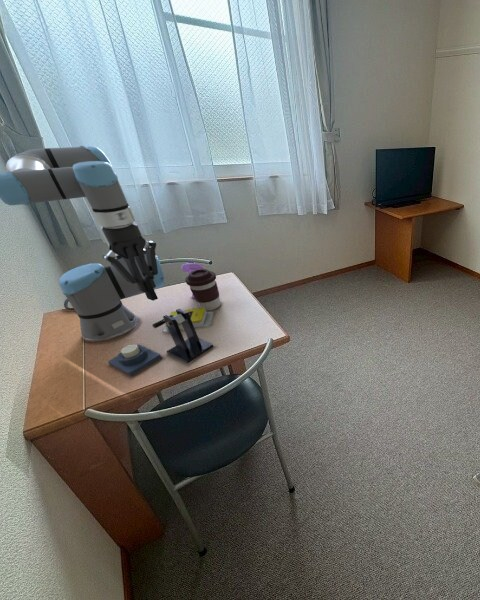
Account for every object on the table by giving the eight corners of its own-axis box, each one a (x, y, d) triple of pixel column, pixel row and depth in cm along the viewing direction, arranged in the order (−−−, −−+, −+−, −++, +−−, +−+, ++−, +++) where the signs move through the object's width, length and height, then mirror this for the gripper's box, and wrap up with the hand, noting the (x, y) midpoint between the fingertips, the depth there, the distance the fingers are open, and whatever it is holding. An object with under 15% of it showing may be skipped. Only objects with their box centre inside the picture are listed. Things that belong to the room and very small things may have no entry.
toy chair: (217, 286, 139) (207, 255, 131) (210, 297, 132) (199, 264, 124) (197, 287, 138) (186, 256, 130) (189, 298, 131) (176, 265, 123)
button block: (110, 365, 97) (104, 356, 95) (141, 348, 104) (136, 339, 102) (131, 377, 93) (126, 368, 91) (162, 359, 100) (157, 349, 98)
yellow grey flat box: (165, 309, 116) (210, 303, 120) (169, 319, 118) (214, 312, 123) (157, 323, 109) (206, 316, 113) (162, 334, 111) (210, 326, 115)
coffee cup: (191, 307, 125) (178, 273, 117) (216, 297, 132) (205, 264, 124) (204, 316, 120) (192, 281, 112) (229, 305, 127) (219, 271, 119)
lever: (155, 329, 101) (150, 323, 100) (173, 320, 105) (169, 313, 104) (172, 327, 94) (167, 320, 93) (191, 317, 99) (186, 310, 98)
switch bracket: (167, 354, 102) (149, 317, 94) (194, 339, 109) (179, 303, 101) (188, 364, 98) (171, 326, 91) (214, 348, 105) (200, 311, 98)
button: (121, 355, 96) (117, 350, 95) (135, 348, 99) (132, 342, 98) (128, 359, 95) (125, 354, 94) (142, 351, 98) (140, 346, 97)
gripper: (98, 234, 79) (137, 312, 91) (152, 220, 89) (181, 292, 101) (82, 229, 81) (122, 305, 94) (136, 215, 91) (166, 286, 104)
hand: (152, 298), depth 98 cm, fingers closed
